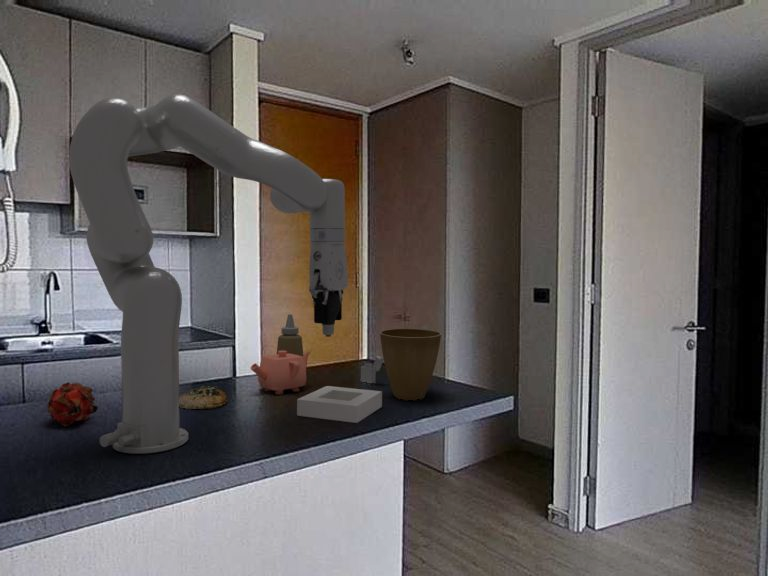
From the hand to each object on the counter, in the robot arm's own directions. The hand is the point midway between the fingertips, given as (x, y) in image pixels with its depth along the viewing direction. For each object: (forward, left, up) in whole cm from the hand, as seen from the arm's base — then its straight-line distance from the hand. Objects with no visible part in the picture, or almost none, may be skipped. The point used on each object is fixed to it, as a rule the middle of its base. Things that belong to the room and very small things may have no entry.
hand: (328, 320), depth 122 cm
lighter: (+30, +2, -20) cm, 36 cm away
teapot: (+14, +20, -20) cm, 32 cm away
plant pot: (+20, -12, -20) cm, 31 cm away
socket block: (+2, -2, -20) cm, 20 cm away
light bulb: (0, 0, -4) cm, 4 cm away
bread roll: (-5, +29, -21) cm, 36 cm away
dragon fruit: (-27, +44, -20) cm, 55 cm away
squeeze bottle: (+26, +25, -20) cm, 41 cm away
